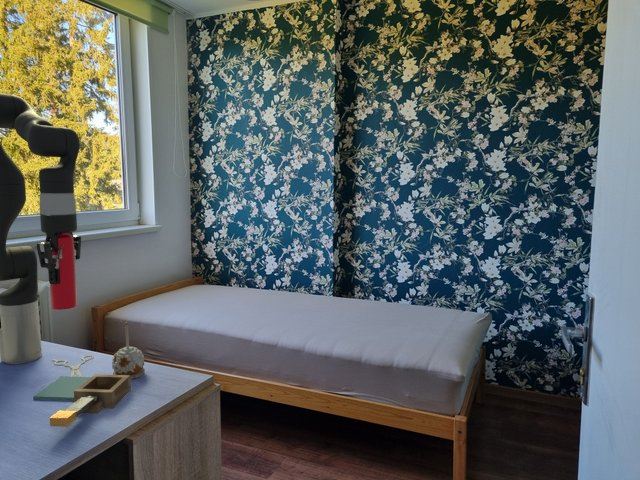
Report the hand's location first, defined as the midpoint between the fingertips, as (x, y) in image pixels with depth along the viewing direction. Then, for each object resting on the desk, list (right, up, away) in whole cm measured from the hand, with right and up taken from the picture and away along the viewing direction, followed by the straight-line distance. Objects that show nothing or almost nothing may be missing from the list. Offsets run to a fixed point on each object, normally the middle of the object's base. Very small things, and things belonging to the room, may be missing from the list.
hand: (62, 280), depth 108 cm
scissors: (-6, -27, +16) cm, 32 cm away
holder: (+10, -29, -2) cm, 31 cm away
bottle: (0, -7, +1) cm, 7 cm away
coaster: (0, -28, +4) cm, 28 cm away
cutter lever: (+10, -27, -12) cm, 32 cm away
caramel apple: (+11, -27, +12) cm, 32 cm away
